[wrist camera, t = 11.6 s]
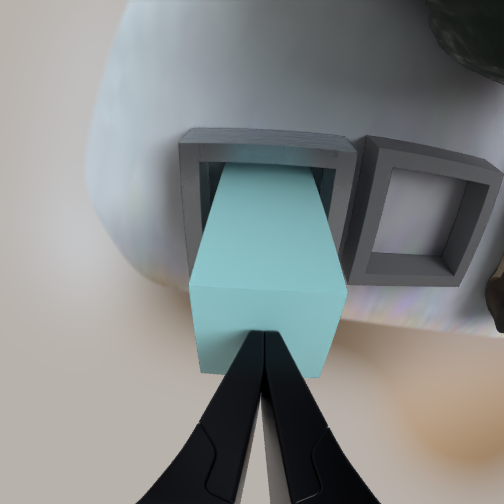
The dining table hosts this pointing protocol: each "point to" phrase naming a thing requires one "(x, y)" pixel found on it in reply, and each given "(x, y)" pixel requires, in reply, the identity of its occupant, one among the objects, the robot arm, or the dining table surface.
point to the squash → (471, 33)
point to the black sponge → (496, 297)
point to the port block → (267, 152)
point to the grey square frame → (372, 202)
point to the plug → (266, 268)
